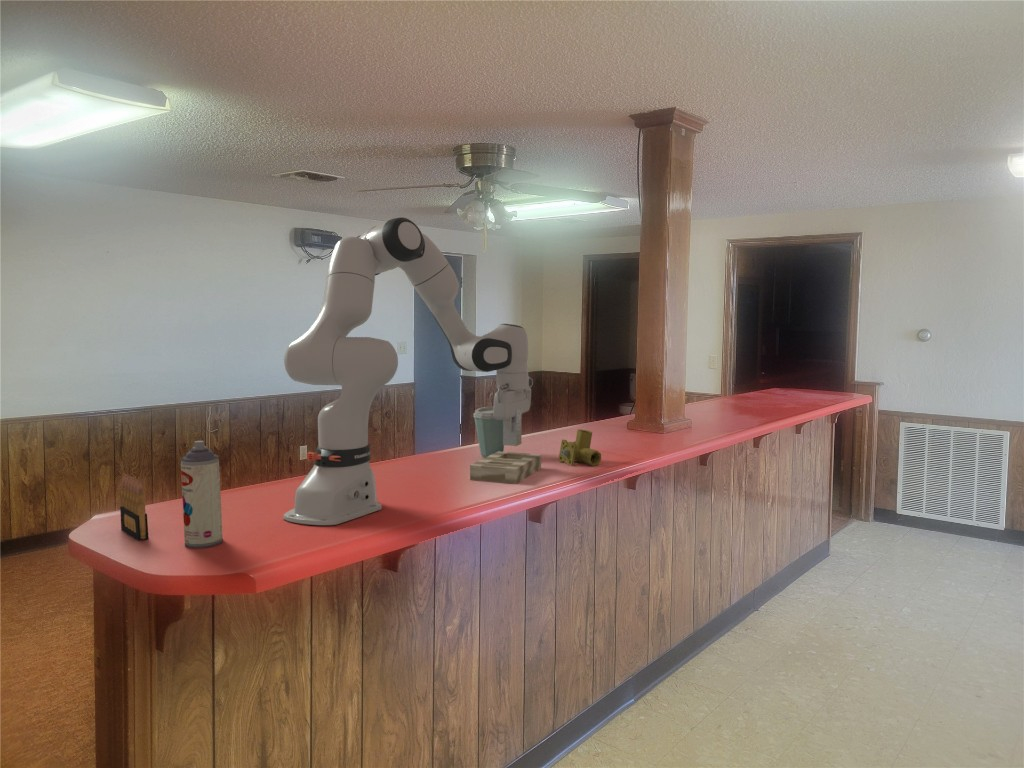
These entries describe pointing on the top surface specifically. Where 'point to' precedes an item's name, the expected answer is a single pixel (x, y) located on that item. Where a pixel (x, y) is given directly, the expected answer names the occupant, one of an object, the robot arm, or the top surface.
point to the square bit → (514, 431)
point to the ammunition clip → (133, 509)
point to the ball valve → (579, 450)
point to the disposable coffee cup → (488, 431)
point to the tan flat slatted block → (505, 467)
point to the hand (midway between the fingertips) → (512, 431)
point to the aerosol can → (201, 497)
